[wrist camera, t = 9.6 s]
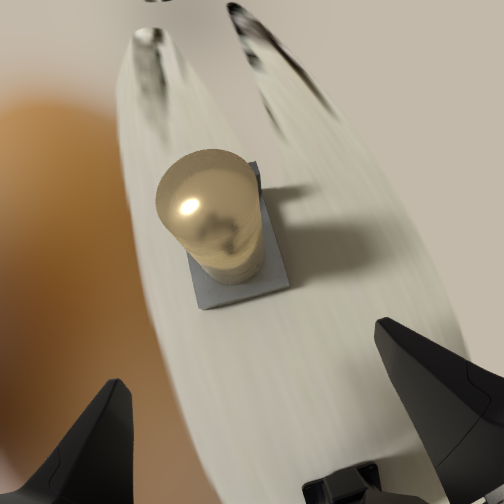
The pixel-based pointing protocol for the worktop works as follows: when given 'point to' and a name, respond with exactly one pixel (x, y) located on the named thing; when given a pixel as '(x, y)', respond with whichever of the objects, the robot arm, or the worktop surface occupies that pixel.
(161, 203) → the ball
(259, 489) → the worktop surface
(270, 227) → the press bed
